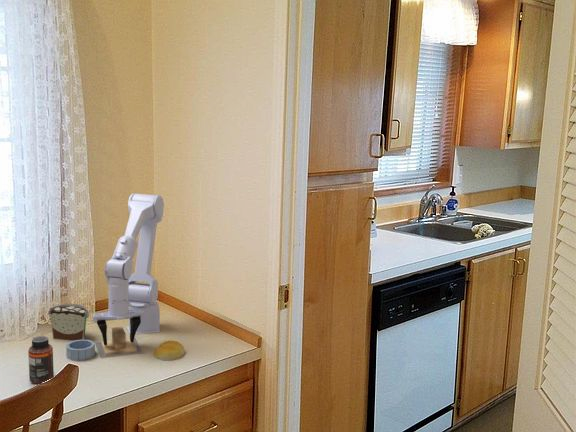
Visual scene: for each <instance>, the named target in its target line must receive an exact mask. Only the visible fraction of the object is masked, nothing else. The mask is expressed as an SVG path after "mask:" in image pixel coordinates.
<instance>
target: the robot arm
mask: <svg viewBox="0 0 576 432" xmlns="http://www.w3.org/2000/svg"><path fill="white" fill-rule="evenodd" d="M164 208H165V204H164V199H163V197H162V195H160V194H144V193H136V192H133V193H131V194H130V196H129V198H128V201H127V210H128V214H129V217H128V220H127V224H126V229H125V232H124V234H123V235H122V236H121V237H119V238H118V240H117V243H116V246H115V248H114V251H113V254H112V255H111V258H110V259H108V260H107V261H106V262H105V266H104V271H103V272H104V275H105V278H106V284H108V285H107V286H108V291H107V292H108V294H107V295H108V311H104V312H100V313H93V314H92V323H94V324H95V323H96V324H97V326H98V328H99V330H100V332H101V336H102V339H103V340H102V341H103V342H104V345H107V341H108V337H107V332H108V330H107V329H108V325H107V321H109V322H110V321H120V320H128V325H125V328H126V330H127V331H128V334H129V338H130V341H131V342H134V338H136V335H142V334H150V333H152V334H153V333H160V331H161V330H160V326H161V325H160V323H161V322H160V321H161V320H160V319H161V318H160V317H161V316H160V315H161V314H160V313H161V312H160V310H161V309H160V304H159V302H157V299H158V296H159V281H158V280H157V279H156V278H155V276H153V275H152V274H151V272H152V265H153V264H152V263H153V256H154V249H155V239H156V234H157V227H158V223H160V222H162V221H163V215H164V210H165V209H164ZM138 235H139V237H138ZM137 237H138V238H139V239H138V241H137ZM136 250H137V254H136ZM135 254H136V261H135V267H134V268H135V269H134V273H133V265H134V260H133V259H134V257H135Z"/></svg>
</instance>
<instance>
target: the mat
mask: <svg viewBox="0 0 576 432" xmlns="http://www.w3.org/2000/svg"><path fill="white" fill-rule="evenodd" d="M94 344H95V347H96V350H97V352H98V355H99V357H100V359H105V358H106V359H107V358H114V357H115V358H116V357H121V356H122V357H123V356H128V355H129V356H130V355H139V354H144V352H143V350H142V349H141V346H140V345H139V342H138V340H137V339H136V337H134V344H135V346H136V348H137V352H129V353H121V354H113V355H105V353H104V351H103V348H102V345H101V341H97V342H95V341H94Z"/></svg>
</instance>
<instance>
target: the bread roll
mask: <svg viewBox="0 0 576 432" xmlns="http://www.w3.org/2000/svg"><path fill="white" fill-rule="evenodd" d="M184 354H185V347H184V345H183V344H182V343H181V342H178V341H176V340H166V341H164V342H162V343H160V345H158V347H157V348H155V350H154V352H153V356H154V357H155V358H156V359H158V360H160V361H174V360H175V361H176V360H178V359H180V358H182V357H183V356H184Z"/></svg>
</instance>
